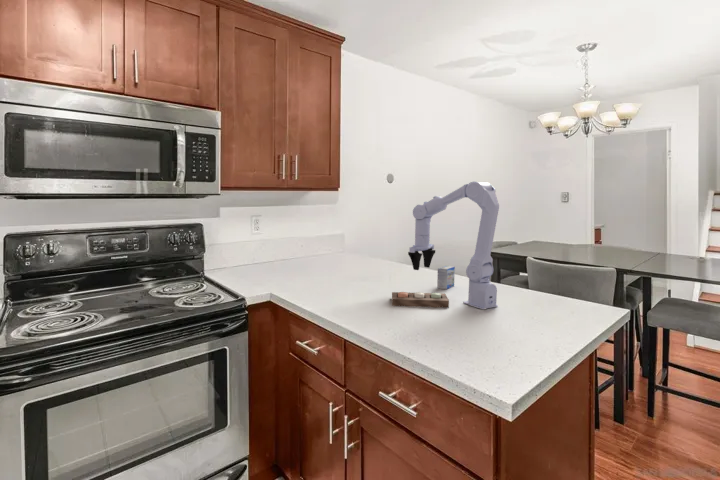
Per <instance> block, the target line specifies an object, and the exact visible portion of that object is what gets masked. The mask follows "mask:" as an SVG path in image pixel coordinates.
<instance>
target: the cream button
mask: <svg viewBox="0 0 720 480" xmlns="http://www.w3.org/2000/svg"><path fill="white" fill-rule="evenodd" d="M413 293H414V298H424V293H425V292H420V291H419V292H413Z"/></svg>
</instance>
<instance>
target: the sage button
mask: <svg viewBox="0 0 720 480" xmlns="http://www.w3.org/2000/svg"><path fill="white" fill-rule="evenodd" d="M430 293H431V298H441V294H440V292H430Z"/></svg>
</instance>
